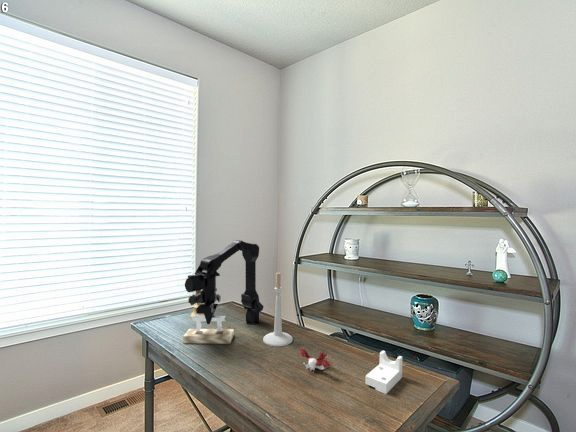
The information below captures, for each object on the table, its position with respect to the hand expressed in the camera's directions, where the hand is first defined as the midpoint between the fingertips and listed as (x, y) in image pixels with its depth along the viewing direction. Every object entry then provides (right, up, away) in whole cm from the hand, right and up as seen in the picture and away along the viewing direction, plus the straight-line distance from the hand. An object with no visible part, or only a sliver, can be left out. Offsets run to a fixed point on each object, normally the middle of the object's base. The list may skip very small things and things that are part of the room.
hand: (209, 322), depth 140 cm
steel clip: (0, -3, 0) cm, 3 cm away
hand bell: (-13, -6, +29) cm, 33 cm away
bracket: (+67, -10, -32) cm, 75 cm away
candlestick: (+30, -8, 0) cm, 31 cm away
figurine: (+45, -9, -24) cm, 52 cm away
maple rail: (0, -7, 0) cm, 7 cm away
